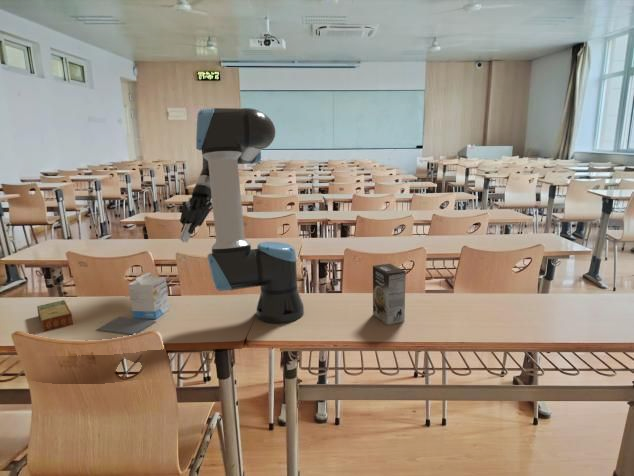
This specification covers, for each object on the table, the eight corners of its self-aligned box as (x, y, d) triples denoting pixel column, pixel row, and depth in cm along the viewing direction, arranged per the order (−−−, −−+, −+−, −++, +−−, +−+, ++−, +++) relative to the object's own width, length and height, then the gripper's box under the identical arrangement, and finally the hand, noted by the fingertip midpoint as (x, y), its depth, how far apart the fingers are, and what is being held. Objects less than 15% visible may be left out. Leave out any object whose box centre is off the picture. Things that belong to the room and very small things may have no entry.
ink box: (155, 319, 136) (150, 279, 133) (132, 318, 137) (126, 279, 134) (170, 309, 144) (165, 271, 141) (147, 308, 146) (143, 270, 143)
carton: (43, 333, 130) (40, 320, 129) (38, 317, 142) (35, 305, 141) (74, 325, 134) (71, 312, 133) (66, 310, 147) (64, 298, 146)
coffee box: (372, 314, 134) (371, 265, 131) (389, 310, 136) (389, 262, 133) (387, 325, 126) (387, 273, 122) (405, 321, 128) (406, 270, 125)
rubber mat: (155, 322, 134) (155, 321, 134) (134, 335, 125) (134, 333, 125) (119, 317, 138) (119, 316, 138) (97, 330, 129) (96, 328, 129)
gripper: (223, 195, 168) (204, 246, 157) (194, 195, 172) (172, 244, 161) (215, 183, 162) (194, 235, 150) (184, 183, 166) (162, 234, 155)
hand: (183, 240), depth 156 cm, fingers closed
